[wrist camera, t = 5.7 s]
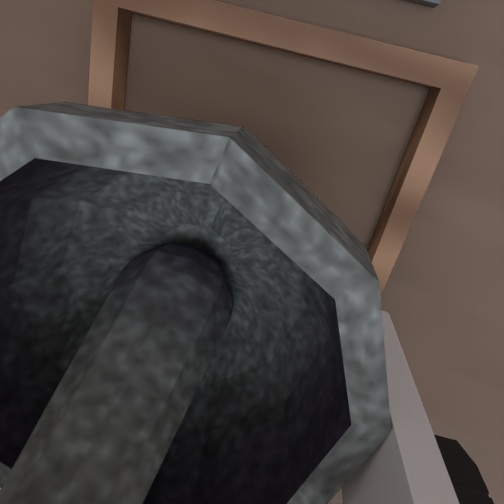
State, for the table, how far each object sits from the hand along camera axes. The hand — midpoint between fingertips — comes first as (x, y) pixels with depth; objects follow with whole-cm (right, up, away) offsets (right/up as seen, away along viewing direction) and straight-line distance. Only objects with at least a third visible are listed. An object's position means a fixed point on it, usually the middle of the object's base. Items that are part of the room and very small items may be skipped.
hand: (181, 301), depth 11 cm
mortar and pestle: (0, +1, +3) cm, 3 cm away
